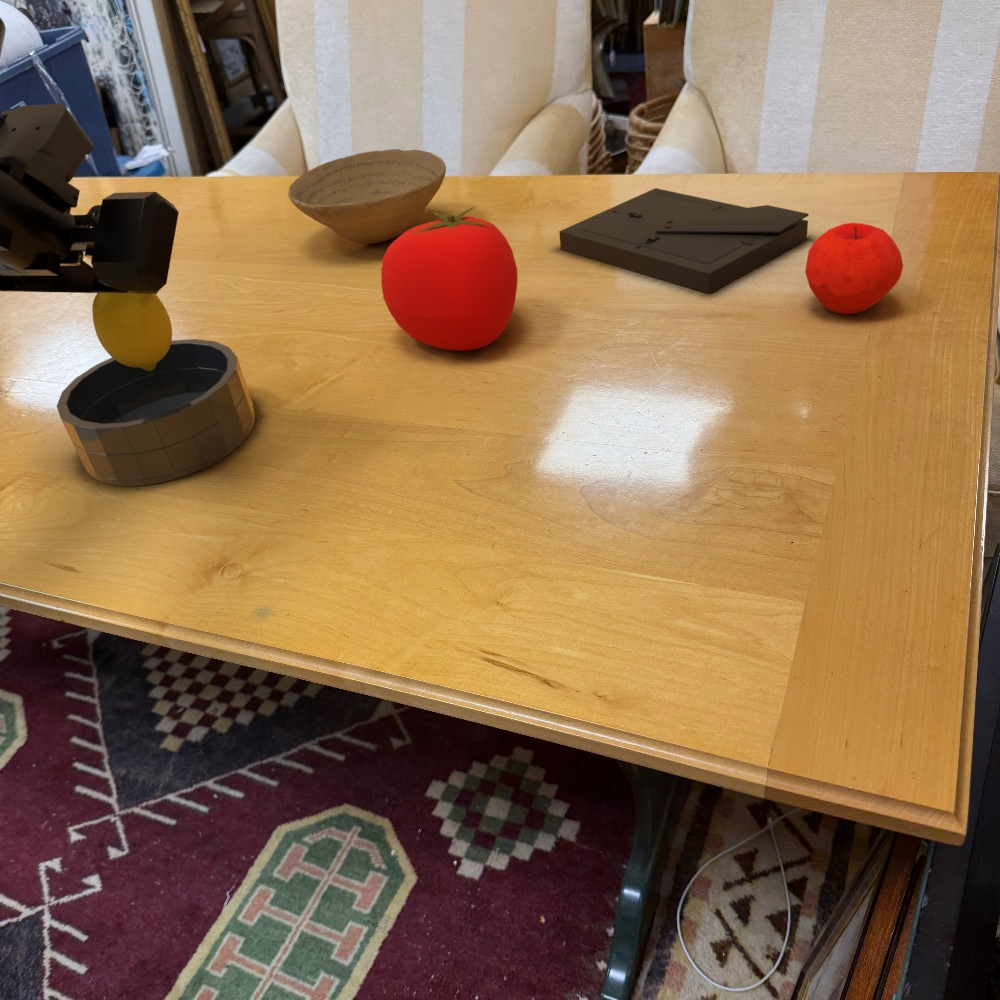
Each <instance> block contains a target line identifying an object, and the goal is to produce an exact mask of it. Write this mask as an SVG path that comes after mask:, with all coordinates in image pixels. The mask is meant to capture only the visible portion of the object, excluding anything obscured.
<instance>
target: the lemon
mask: <svg viewBox="0 0 1000 1000" xmlns="http://www.w3.org/2000/svg"><path fill="white" fill-rule="evenodd" d="M91 308H92V309H91V311H92V313H91V314H92V322H93V327H94V330H95V334H96V336H97V339H98V341H99V343H100V344H101V346H102V348H103V349H104V351H105V352H106V353H107V354H108V355H109V356H110V358H113V359H115V360H116V361H118V362H119V363H121V364H124V365H126V366H129V367H135V368H136V367H140V368H142V369H144V370H146V371H151V370H153V369H154V368H155V366H156V364H157V362H158V361H160V360H161V359H162V358H163V357H164V356H165V355H166V354H167V352H168V350H169V348H170V346H171V341H173V327H172V322H171V318H170V315H169V313H168V311H167V309H166V306H165V305H164V303H163V302H162V301H161V299H160V297H159V296H158V294H137V293H96V295H95V296H94V298H93V302H92V307H91Z"/></svg>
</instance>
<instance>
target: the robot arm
mask: <svg viewBox="0 0 1000 1000" xmlns="http://www.w3.org/2000/svg"><path fill="white" fill-rule="evenodd" d="M6 30H7V28H6V24H5V22H4V21H3V20H2V17H0V57H1V56H2V52H3V47H4V41H5V36H6ZM93 149H94V143H93V141H92V140H91V139H90V137H89V136H88V135H87V133H86V132H85V131H84V129H83V128H82V126H81V125H80V124H79V123H78V121H77V120H76V119H75V117H74V116H73V114H72V113H71V112H70V110H69V109H68V108H67V107H66V106H65V104H62V103H46V104H45V103H44V104H32V105H30V104H29V105H22V106H18V107H17V108H14V109H13V110H3V111H2V112H1V114H0V292H4V293H5V292H7V293H8V292H9V293H11V292H13V293H17V292H18V293H63V294H65V293H66V294H67V293H73V294H97V293H137V294H156V295H158V293H159V291H161V290H162V289H163V288H164V287H165V286H166V285H167V283H168V278H169V277H168V276H169V271H170V265H171V260H172V254H173V250H174V249H173V248H174V243H175V236H176V232H177V231H176V230H177V224H178V219H179V213H180V211H179V210H178V209H177V207H176V206H175V205H174V203H172V202H171V201H169V200H168V199H167V198H165V197H164V196H162V195H161V194H160V193H159V192H157V191H133V192H132V191H131V192H130V191H129V192H128V191H127V192H114V193H111V194H110V195H108V196H106V197H104V198H102V199H101V204H97V205H93V206H91V208H89V210H88V212H87V213H86V214H71V210H72V209H73V208H74V209H75V208H77V207H78V203H79V198H80V197H79V196H80V191H81V190H80V189H78V188H77V187H75V186H74V185H72V184H71V183H70V182H71V181H72V179H74V176H75V175H76V173H77V172H78V170H79V168H80V167H81V164H82V163H83V161H84V160H85V158H86V157H87V156H89V155H90V154H91V153H92V151H93ZM84 257H85V258H87V259H89V260H90V264H91V265H90V264H89V263H87V262H86V261H84Z"/></svg>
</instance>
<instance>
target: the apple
mask: <svg viewBox="0 0 1000 1000" xmlns="http://www.w3.org/2000/svg"><path fill="white" fill-rule="evenodd" d="M806 257H807V258H806V263H805V270H804V273H805V276H806V280H807V283H808V286H809V289H810V290H811V292H812V293H813V295H814V296H815V298H816V299H817V300H818V301H819V303H820V304H821V305H822V306H823V307H824V308H825V309H827V310H828V311H831V312H833V313H835V314H836V313H837V314H841V315H853V314H857V313H862V312H865V311H866V310H867V309H870V308H871V307H872V306H874V305H875V304H877V303H878V302H879V301H880V300H881V299H882V298H883V297H885V296H886V295H887V294H889V292H890V291H891V290H893V288H894V287H895V285H896V284H897V283H898V282H899V280H900V279H901V276H902V273H903V268H904V262H903V259H902V254H901V251H900V249H899V247H898V245H897V244H896V243H895V241H894V239H893V238H892V237H891V236H890V234H888V233H887V232H886V230H884V229H883V228H879V227H877V226H874V225H870V224H865V223H862V222H861V223H859V222H848V223H842V224H840V225H836V226H834V227H832V228H829V229H828V230H827V231H825V232H824V233H823V234H821V235H820V236H819V237H818V238H817V239H815V240H814V242H813V243H812V245H811V247H810V248H809V249H808V252H807V256H806Z"/></svg>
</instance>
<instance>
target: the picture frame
mask: <svg viewBox="0 0 1000 1000" xmlns="http://www.w3.org/2000/svg"><path fill="white" fill-rule="evenodd" d="M809 216H810V215H809V213H807V212H804V211H803V212H802V211H798V210H794V209H788V208H784V207H779V206H773V205H768V204H765V205H759V206H749V207H746V206H740V205H737V204H732V203H727V202H722V201H718V200H713V199H708V198H704V197H699V196H694V195H690V194H685V193H680V192H675V191H672V190H666V189H662V188H657V187H655V188H652V189H651V190H648V191H645V192H644V193H642V194H640V195H637V196H635V197H632V198H631V199H628V200H626V201H624V202H622V203H619V204H617V205H615V206H612V207H610V208H608V209H606V210H604V211H602V212H599V213H597V214H594V215H593V216H590V217H588V218H585V219H583V220H582V221H579V222H577V223H574V224H572V225H570V226H567V227H566V228H564V229H561V230H559V231H558V233H559V243H560V245H559V247H560V250H561V251H565V252H568V253H572V254H575V255H578V256H582V257H585V258H589V259H591V260H594V261H597V262H598V261H599V262H601V263H606V264H608V265H611V266H615V267H618V268H621V269H626V270H627V271H628V270H629V271H632V272H635V273H638V274H642V275H644V276H648V277H651V278H655V279H658V280H661V281H664V282H669V283H672V284H675V285H678V286H682V287H686V288H689V289H691V290H695V291H698V292H702V293H704V294H705V293H706V294H708V295H709V294H711V293H713V292H715V291H717V290H719V289H721V288H722V287H724V286H726V285H728V284H730V283H731V282H733V281H735V280H737V279H738V278H740V277H742V276H744V275H746V274H749V273H750V272H751V271H753V270H755V269H757V268H759V267H761V266H763V265H764V264H766V263H768V262H769V261H770V262H771V260H774V259H775V258H777V257H779V256H781V255H782V254H784V253H786V252H788V251H790V250H792V249H793V248H795V247H797V246H799V245H800V244H803V243H804V242H806V241H807V239H808V226H809V221H808V220H806V219H805V218H807V217H809Z"/></svg>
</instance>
